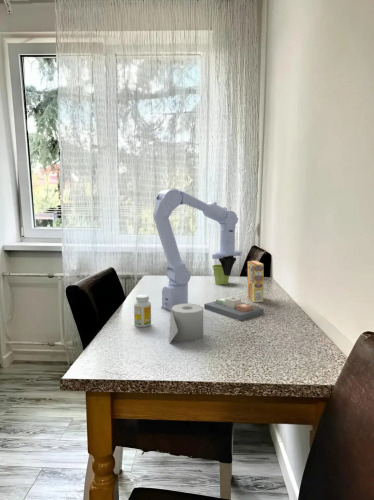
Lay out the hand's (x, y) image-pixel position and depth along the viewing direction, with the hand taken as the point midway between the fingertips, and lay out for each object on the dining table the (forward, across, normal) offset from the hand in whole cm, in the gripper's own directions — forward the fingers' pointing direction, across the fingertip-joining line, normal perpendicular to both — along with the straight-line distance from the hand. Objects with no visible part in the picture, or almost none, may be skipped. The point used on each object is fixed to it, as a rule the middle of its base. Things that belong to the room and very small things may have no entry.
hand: (227, 275), depth 144 cm
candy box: (+11, +10, -6) cm, 16 cm away
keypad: (+10, -8, -11) cm, 17 cm away
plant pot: (+11, +20, +23) cm, 32 cm away
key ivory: (+9, -8, -11) cm, 16 cm away
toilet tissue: (+11, -38, -19) cm, 44 cm away
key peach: (+10, -8, -16) cm, 21 cm away
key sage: (+10, -8, -6) cm, 14 cm away
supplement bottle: (+11, -41, -2) cm, 42 cm away
